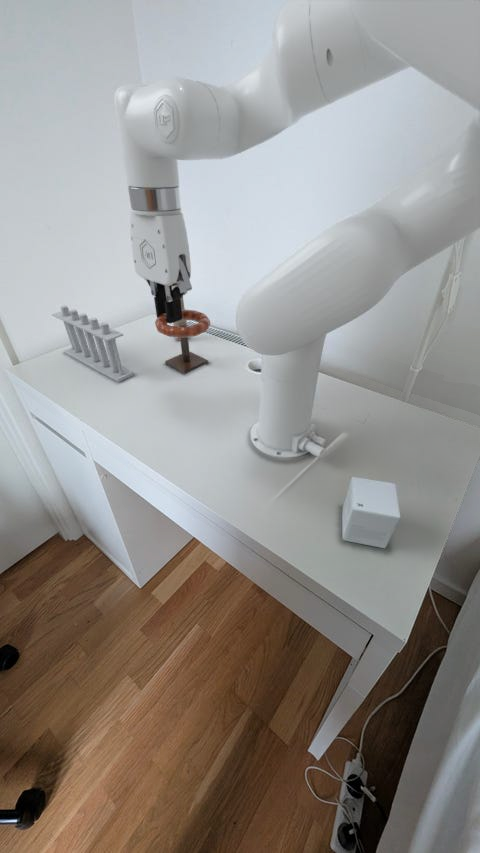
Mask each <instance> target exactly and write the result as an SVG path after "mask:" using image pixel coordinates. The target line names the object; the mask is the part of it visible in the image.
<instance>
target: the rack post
mask: <svg viewBox="0 0 480 853" xmlns="http://www.w3.org/2000/svg"><path fill="white" fill-rule="evenodd" d="M178 326H179V327H184V326H188V323H187V324H186V323H185V322H181V323H179V324H178ZM179 343H180V349H181V350H180V351H181V353H179V354H178V355H176V356H174V357H171V358H169V359H167V360H165V362H164V363H165V365H166V366H168V367H170V368H172V369H174V370H175V371H177V372H179V373H181V374H183V375H186V374H189V373H191V372H193V371H195V370H197V369H199V368H201V367H204V366H206V365H208V364H209V360H208V359H206V358H204V357H203V356H200V355H198V354H196V353H194V352H192V351H190V344H189V337H185V338H180V341H179Z"/></svg>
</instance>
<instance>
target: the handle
mask: <svg viewBox="0 0 480 853" xmlns="http://www.w3.org/2000/svg"><path fill="white" fill-rule="evenodd" d="M171 287H172V290H173V288H174V287H175V286H171ZM187 293H188V291H187V292H184V294H183V296H185V295H186V294H187ZM181 309H182V310H186V308H185V303H184V297H183V298H181ZM187 321H188V320H179V321H176V322H174V323H172V326H177V327H179V326H178V324H179V323H181V322H185V323H186V324H187V325H188V322H187ZM176 340H177V341H179V342H180V338H178V337H176Z"/></svg>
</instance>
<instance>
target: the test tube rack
mask: <svg viewBox="0 0 480 853" xmlns="http://www.w3.org/2000/svg"><path fill="white" fill-rule="evenodd" d="M51 316H52V317H54V318H56V319H59V320H61V321H62V322H63V324H64V328H65V330H66V333H67V336H68V340H69V342H70V345H71V346H70V347H69V348H67V349H64V353H65V354H66V355H68V356H70V357H72V358H73V359H75V360H77V361H79V362H80V363H83V364H84V365H86V366H88V367H90V368H92V369H94V370H95V371H97V372H99V373H100V374H102V375H105V376H106V377H108V378H110V379H111V380H113V381H115V382H116V383H120V382H123V381H124V380H126V379H129V378H131V377H133V376H134V372H133V371H130V370H129V369H127V368H125V367H123V366H122V362H121V357H120V354H119V351H118V346H117V342H116V339H118V338H121V337H123V336H124V333H123V332H121V331H118V330H116V329H113V328H111V327H110V325H109V323H108V321H107V322H106V321H104V322H99V320H98V319H97V318H96V317H91V318H89V316H88V315H87V313H80V314H79V312H78V310H77V309H70V310H69V307H68V305H61V306H60V311H58V312H55V313H52V314H51Z"/></svg>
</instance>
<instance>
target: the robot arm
mask: <svg viewBox="0 0 480 853" xmlns="http://www.w3.org/2000/svg"><path fill="white" fill-rule="evenodd" d="M277 12H278V13H277V15H276V17H275V20H274V25H273V30H272V31H273V32H272V45H271V47H270V49H269V51H268V52H267V53H266V55H265V56H264V57H263V58H261V60H260V61H259V62H258V63H257V64H255V65H254V66H253V67H251V68H250V69H249V70H247V71H245V72H244V73H242V74H240V75H239V76H238V77H236V78H234V79H232V80H230V81H229V82H226V83H225V84H222V85H220V86H217V85H214V84H211V83H206V82H202V81H199V80H192V79H189V78H185V77H168V78H163V79H161V80H159V81H157V82H154V83H150V84H142V83H141V84H139V83H138V84H137V83H136V84H134V83H133V84H124V85H120V86H119V87H117V89H116V90H115V92H114V109H115V115H116V122H117V127H118V133H119V139H120V147H121V151H122V152H121V153H122V158H123V165H124V170H125V178H126V182H127V191H128V197H129V203H130V209H131V210H130V211H129V228H130V240H131V241H130V243H131V250H132V258H133V265H134V270H135V273H136V275H138V276H139V278H142V279H143V280H145V282H146V283H147V284H148V286H149V288H150V294H151V295H152V297H153V300H154V308H155V313H156V319H157V318H158V317H159V316H160V315H162V314H164V313H166V318H167V322H168V323H167V324H169V325H170V324H173V323H174V322H176V321H179V320H181V319H182V309H181V298H183V299H184V295H183V294H184V292H187V293H188V292H190V291H192V289H193V286H192V283H191V281H190V279H191V276H192V262H191V253H190V246H189V245H190V244H189V238H188V231H187V228H186V221H185V218H184V214H183V213H182V200H181V190H180V176H179V167H178V166H179V165H178V161H205V160H207V161H208V160H209V161H210V160H225V159H228V158H231V157H233V156H237V155H239V154H241V153H243V152H245V151H247V150H249V149H252V148H254V147H257V146H259V145H261V144H263V143H265V142H267V141H270V140H271V139H273V138H274V137H276V136H278V135H279V134H282V132H284V131H286V130H287V129H289V128H290V127H291V128H292V126H294V125H296V124H297V123H298V122H300V121H301V120H302V119H303V118H305V117H307V116H308V115H310V114H313V113H315V112H317V111H318V110H321V109H323V108H325V107H327V106H329V105H331V104H334V103H336V102H338V101H341V100H342V99H344V98H347V97H348V96H351V95H352V94H355V93H357V92H360V91H361V90H364V89H365V88H367V87H370V86H371V85H375V84H377V83H379V82H380V81H383V80H385V79H387V78H389V77H391V76H393V75H396V74H398V73H401V72H402V71H404V70H406V69H408V68H411V69H414V70H415V71H417V72H418V73H420V74H421V75H422V76H424V77H426V78H427V79H429V80H430V81H432V82H433V83H435V84H436V85H438V86H440V87H441V88H442V89H444V90H446V91H447V92H449V93H450V94H452V95H454V97H457V98H458V99H460V100H461V101H462V102H464V103H466V104H467V105H469V106H470V107H472V108H473V109H475V114H474V115H473V117H472V119H471V121H470V122H469V124H468V125H467V127H466V128H465V129H464V131H463V132H462V133H461V135H460V136H459V137H458V138H456V140H454V142H452V143H451V144H450V145H449V146H448V147H446V148H445V149H444V150H442V151H441V152H440V153H439V154H437V155H436V156H435V157H433V158H432V159H431V160H429V161H428V162H426V163H425V164H424V165H423V166H421V167H420V168H418V169H417V170H416V171H415V172H414V173H412V174H411V175H410V176H409V177H408V178H407V179H405V180H404V181H402V182H401V183H399V185H397V186H395V187H394V188H393V189H391V190H390V191H389V192H387V193H386V194H384V195H383V196H382V197H380V198H379V199H377V200H376V201H375V202H373V203H371V204H370V205H368V206H366V207H365V208H363V209H360V210H359V211H356V212H353V213H351V214H349V215H347V216H345V217H343V218H341V219H339V220H336V221H335V222H333V223H331V224H330V225H328V226H327V227H325V228H324V229H322V230H321V231H319V232H318V233H316V234H315V235H314V236H313V237H311V238H310V239H309V240H307V241H306V242H305V243H304V244H302V245H301V246H300V247H298V248H297V249H296V250H295V251H293V252H292V253H291V254H290V255H288V256H287V257H286V258H284V259H283V260H281V261H280V262H279V263H278V264H277V265H275V266H274V267H272V269H270V270H269V271H267V272H266V273H265V274H264V275H262V276H261V277H260V278H258V279H257V280H256V281H255V282H253V283H252V284H251V285H250V286H248V287H247V289H246V290H245V291H244V292H243V294H242V295H241V297H240V299H239V301H238V303H237V307H236V311H235V325H236V329H237V330H236V331H237V333H238V335H239V337H240V339H241V341H242V343H244V344H245V345H246V347H248V349H250V350H252V351H253V352H256V353H258V354H260V355H261V363H260V364H261V366H260V383H259V384H260V385H259V405H258V406H259V409H258V410H259V411H258V420H257V421H256V422H255V423H254V424H253V425H252V427H251V429H250V433H249V436H250V441H251V443H252V444H253V445H254V447H255V448H257V450H258V451H260V452H261V453H263V454H265V455H268V456H270V457H274V458H278V459H294V458H299V457H301V456H304V455H306V454H308V453H310V455H312V456H314V457H316V458H318V459H321V458H322V457H323V456H324V454H325V452H326V448H325V447H324V446H325V445H326V442H327V440H326V439H325V438H323V437H321V436H318V435H317V434H316V432H315V429H316V424H315V423H312V422H311V421H312V415H313V408H314V403H315V395H316V392H317V391H316V390H317V385H318V378H319V373H320V367H321V361H322V356H323V352H324V346H325V343H326V342H325V341H326V337H327V334H329V333H331V332H333V331H335V330H337V329H339V328H341V327H342V326H345V325H346V324H348V323H350V322H352V321H354V320H356V319H357V318H359V317H360V316H362V315H364V314H366V313H367V312H368V311H370V310H371V309H372V308H373V307H375V306H377V304H379V303H380V302H381V301H382V300H383V299H384V298H385V297H386V296H387V294H388V292H389V291H390V290H391V289H392V288H393V286H394V285H395V283H396V282H397V281H398V280H399V279H400V278H401V277H402V276H403V275H405V274H407V273H408V272H409V271H410V270H412V269H414V268H416V267H418V266H420V265H421V264H423V263H425V262H426V261H427V260H430V259H431V258H434V256H437V255H438V254H440V253H442V252H443V251H445V250H446V249H448V248H449V247H451V246H453V245H454V244H456V243H458V242H459V241H461V240H462V239H465V238H466V237H468V236H470V235H471V234H472V233H475V232H476V231H477V230H479V229H480V0H287V1H285V3H283V5H282V6H281V7H280V9H279V11H277ZM171 286H175V287H174V288H173V290H172V287H171Z"/></svg>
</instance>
